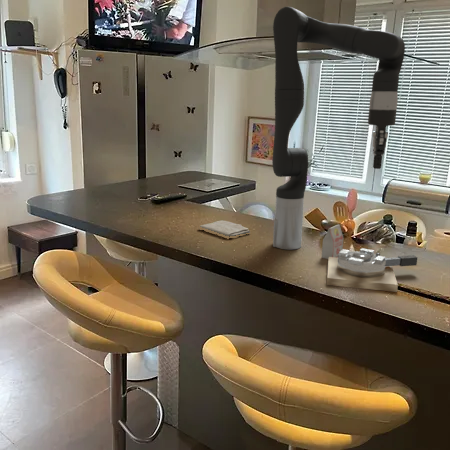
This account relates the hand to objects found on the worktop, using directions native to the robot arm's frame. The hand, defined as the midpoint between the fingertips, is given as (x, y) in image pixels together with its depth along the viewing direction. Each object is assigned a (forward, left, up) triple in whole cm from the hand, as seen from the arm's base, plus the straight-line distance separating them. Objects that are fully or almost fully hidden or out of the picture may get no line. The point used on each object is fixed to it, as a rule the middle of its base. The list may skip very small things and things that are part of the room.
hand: (376, 168), depth 136 cm
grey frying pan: (+2, -13, -27) cm, 30 cm away
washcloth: (-51, +19, -30) cm, 62 cm away
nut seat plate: (-3, -15, -29) cm, 33 cm away
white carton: (-11, +1, -29) cm, 31 cm away
